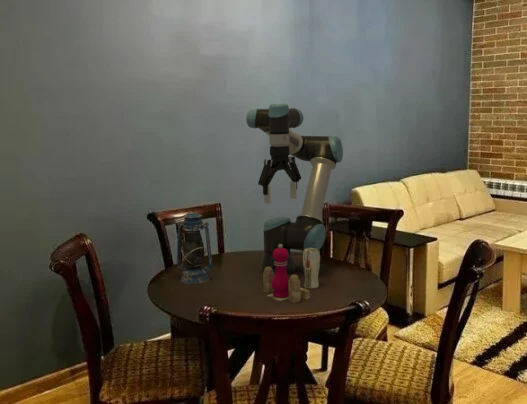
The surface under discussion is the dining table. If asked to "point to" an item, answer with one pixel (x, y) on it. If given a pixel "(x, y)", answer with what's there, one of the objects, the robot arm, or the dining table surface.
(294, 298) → the wooden toy blocks
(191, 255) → the lantern
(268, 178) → the robot arm
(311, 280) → the beer glass
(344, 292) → the dining table surface
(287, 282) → the pepper mill
